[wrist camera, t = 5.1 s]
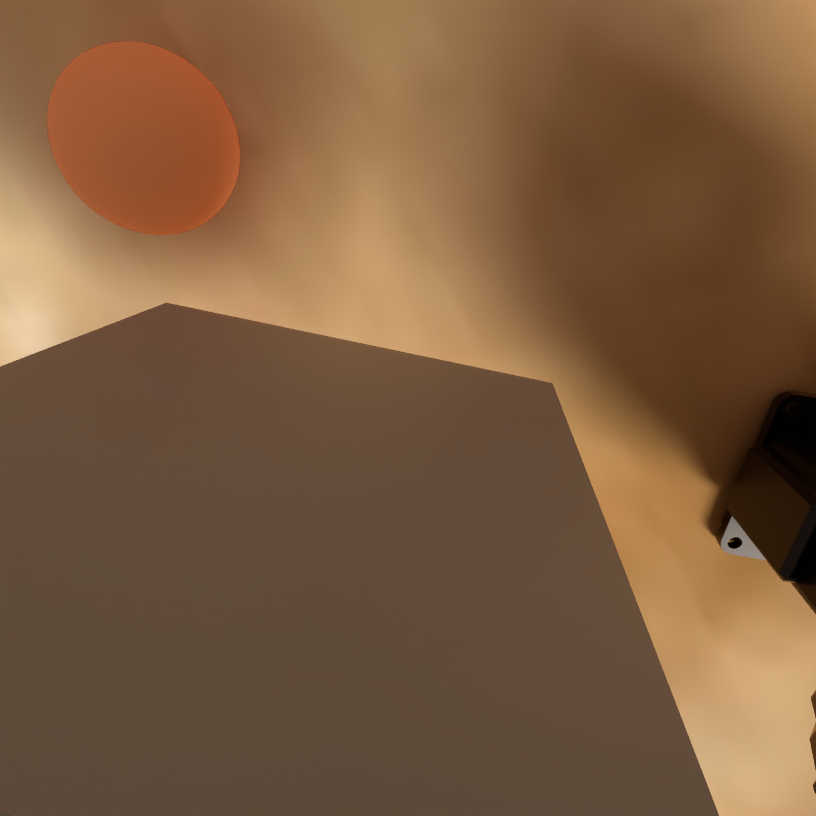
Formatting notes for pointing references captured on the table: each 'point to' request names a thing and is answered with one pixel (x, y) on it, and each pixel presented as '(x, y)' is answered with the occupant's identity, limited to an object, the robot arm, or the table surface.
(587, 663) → the grey cube
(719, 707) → the table surface
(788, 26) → the table surface
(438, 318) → the table surface
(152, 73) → the ball
